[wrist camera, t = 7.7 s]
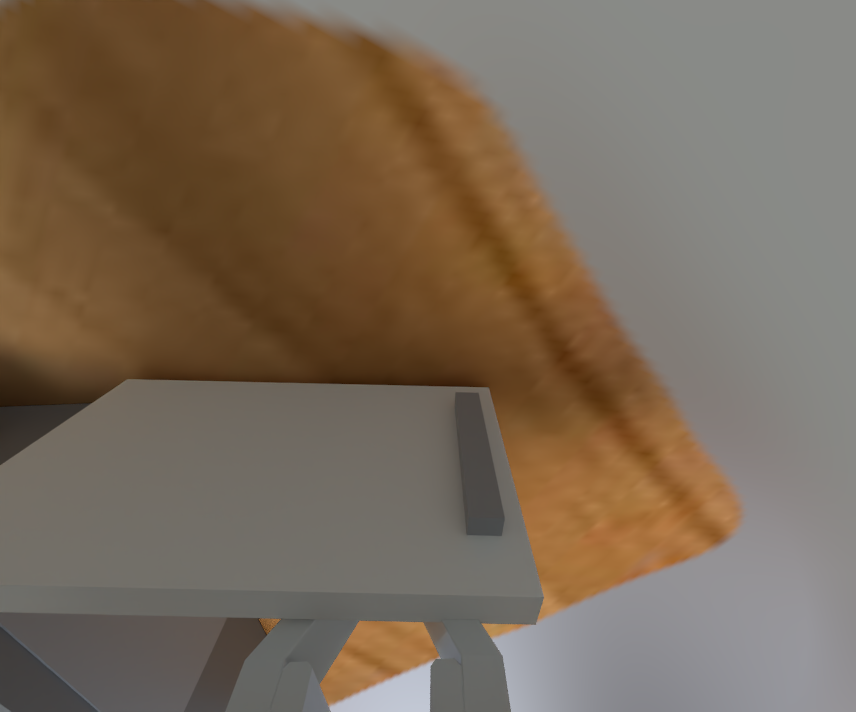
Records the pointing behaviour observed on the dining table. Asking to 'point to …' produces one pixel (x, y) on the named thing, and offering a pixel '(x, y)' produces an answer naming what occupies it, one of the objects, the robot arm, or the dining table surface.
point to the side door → (270, 506)
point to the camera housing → (112, 638)
